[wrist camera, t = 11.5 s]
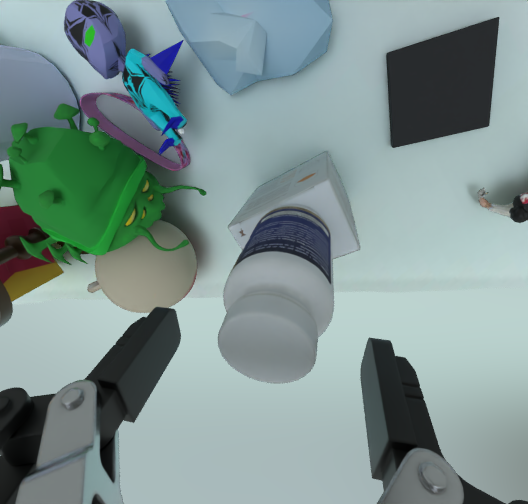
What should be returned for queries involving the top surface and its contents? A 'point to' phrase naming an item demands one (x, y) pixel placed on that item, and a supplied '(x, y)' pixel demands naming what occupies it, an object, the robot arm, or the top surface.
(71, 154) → the figurine
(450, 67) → the pad
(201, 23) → the polygonal blue rock
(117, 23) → the figurine
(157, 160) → the headband
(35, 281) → the toy
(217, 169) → the top surface
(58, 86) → the soap bottle
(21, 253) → the candlestick
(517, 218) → the figurine
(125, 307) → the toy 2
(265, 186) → the small box
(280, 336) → the pill bottle
